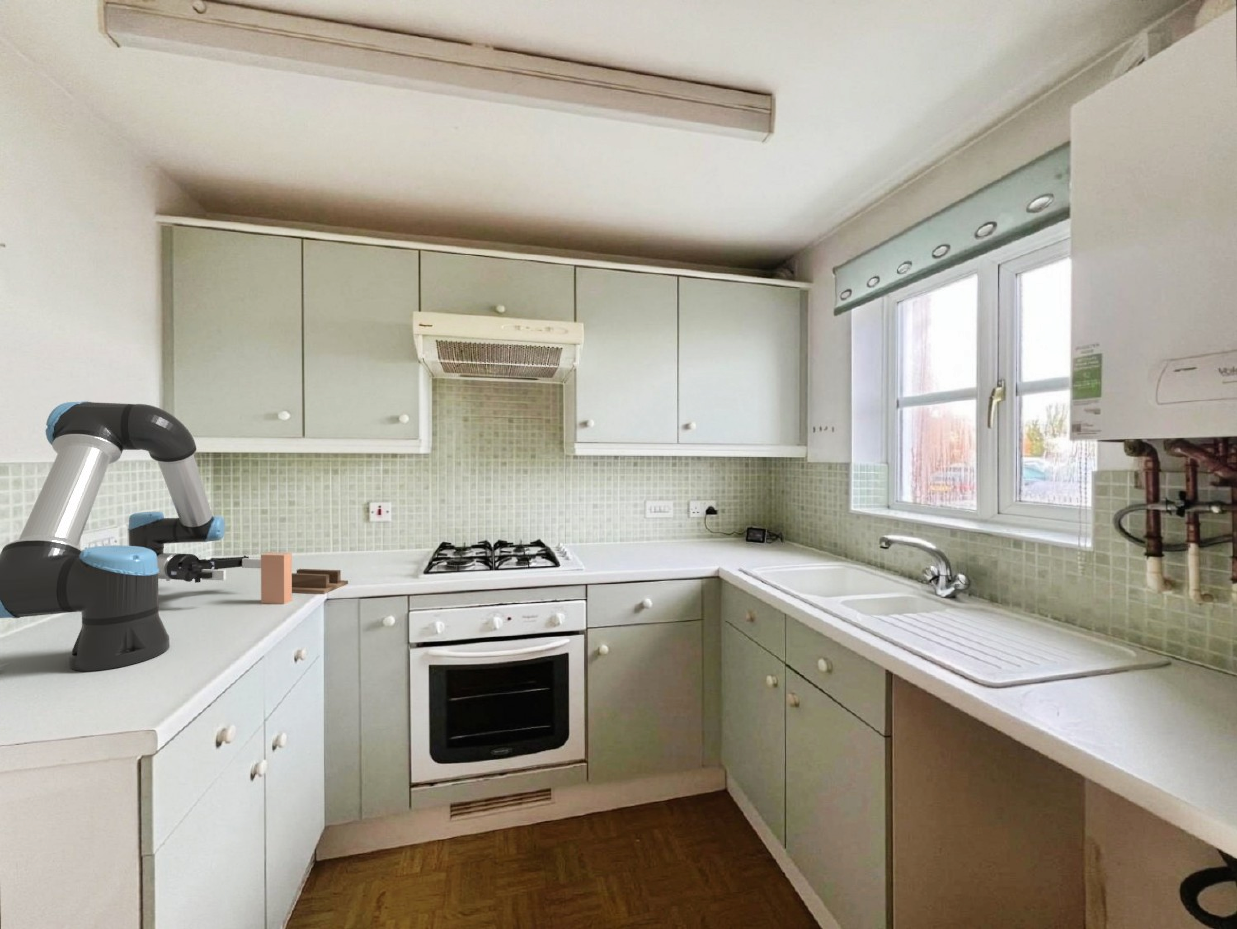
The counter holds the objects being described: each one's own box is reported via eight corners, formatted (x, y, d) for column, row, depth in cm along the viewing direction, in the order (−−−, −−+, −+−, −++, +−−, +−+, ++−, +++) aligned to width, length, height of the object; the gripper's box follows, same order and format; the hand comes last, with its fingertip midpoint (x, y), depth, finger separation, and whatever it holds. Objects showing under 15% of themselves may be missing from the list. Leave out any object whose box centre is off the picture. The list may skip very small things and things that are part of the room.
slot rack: (323, 594, 154) (323, 577, 153) (274, 592, 155) (274, 576, 155) (348, 583, 166) (348, 568, 165) (302, 581, 167) (302, 567, 167)
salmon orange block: (284, 604, 143) (283, 555, 143) (261, 603, 144) (260, 554, 144) (291, 600, 146) (291, 553, 146) (269, 600, 147) (268, 552, 147)
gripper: (214, 568, 160) (277, 571, 158) (133, 591, 135) (206, 594, 134) (214, 545, 160) (277, 547, 158) (132, 563, 135) (206, 566, 133)
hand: (245, 569), depth 146 cm, fingers open, 13 cm apart
